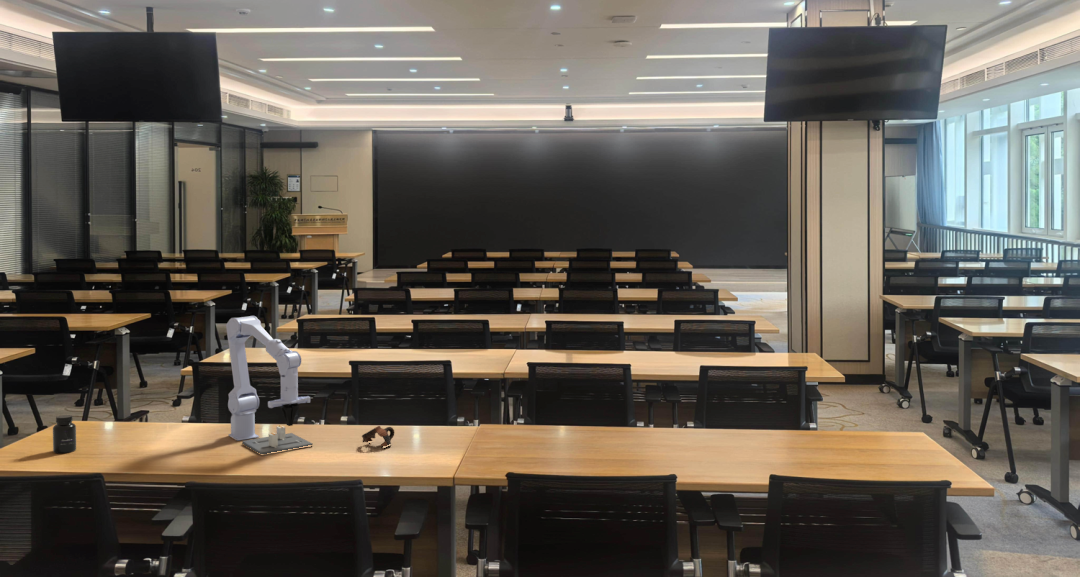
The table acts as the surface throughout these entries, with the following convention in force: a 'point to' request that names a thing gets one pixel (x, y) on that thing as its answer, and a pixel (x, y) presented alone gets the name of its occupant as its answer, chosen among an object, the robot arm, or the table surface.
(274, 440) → the fader
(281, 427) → the fader
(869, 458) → the table surface
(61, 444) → the supplement bottle
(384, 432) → the brown arched piece
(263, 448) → the console
